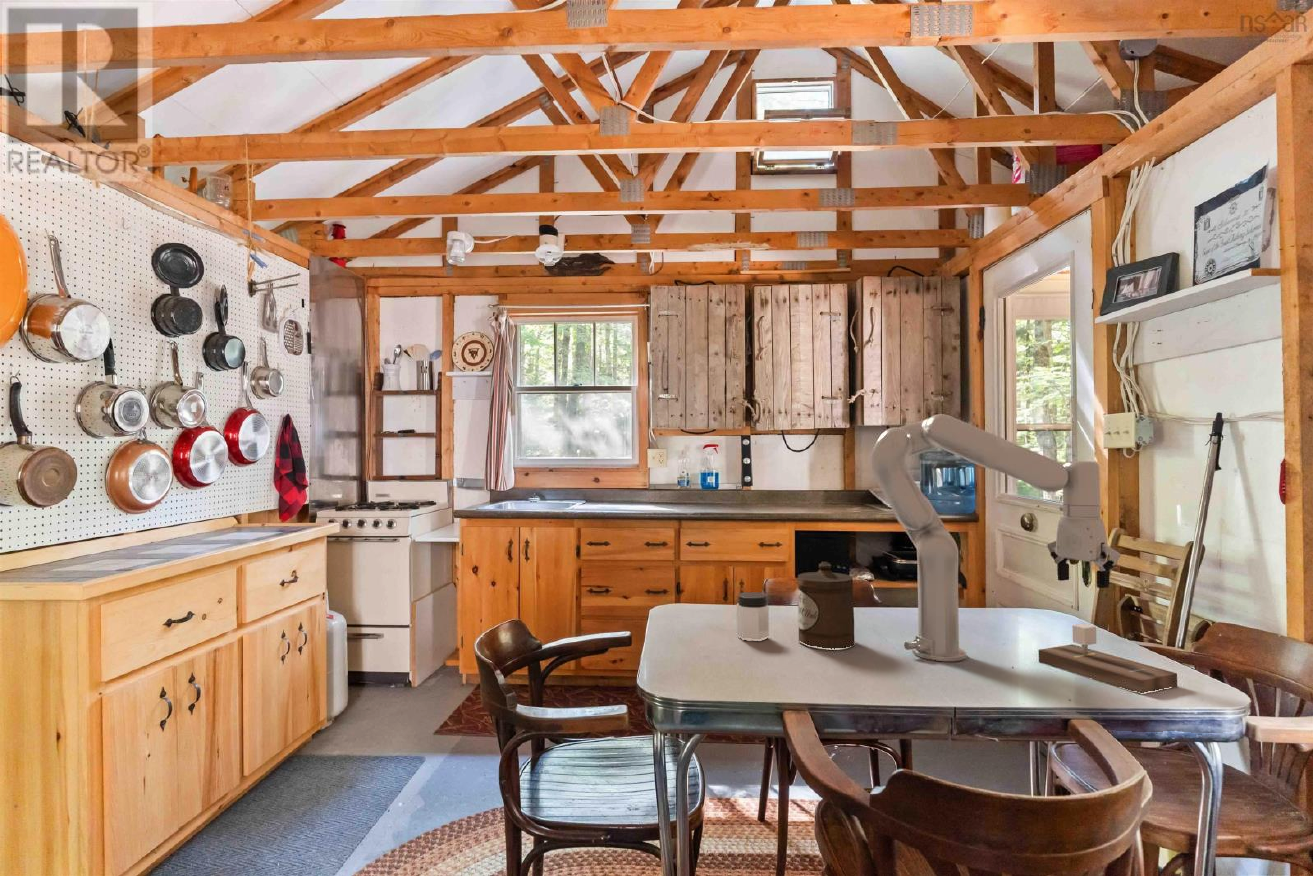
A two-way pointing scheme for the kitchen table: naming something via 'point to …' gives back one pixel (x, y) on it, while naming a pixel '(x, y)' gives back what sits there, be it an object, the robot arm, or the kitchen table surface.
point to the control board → (1108, 668)
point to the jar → (752, 615)
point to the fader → (1084, 636)
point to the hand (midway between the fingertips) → (1082, 583)
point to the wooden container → (826, 608)
